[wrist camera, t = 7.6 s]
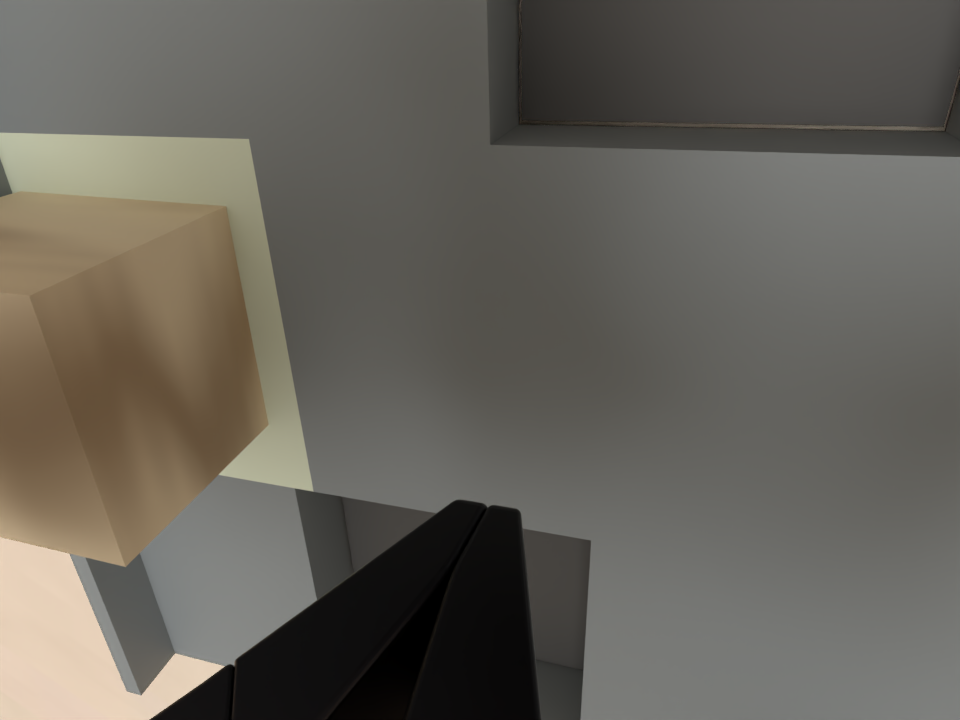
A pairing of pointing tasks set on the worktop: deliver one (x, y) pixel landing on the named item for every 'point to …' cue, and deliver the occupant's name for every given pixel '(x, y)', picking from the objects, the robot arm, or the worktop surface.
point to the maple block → (117, 368)
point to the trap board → (557, 322)
